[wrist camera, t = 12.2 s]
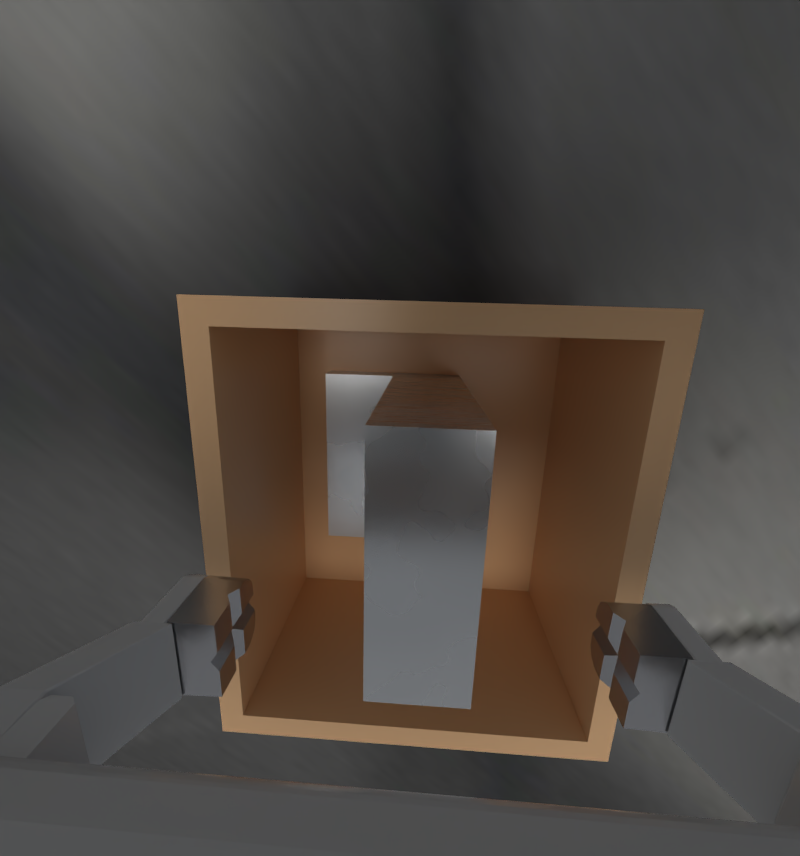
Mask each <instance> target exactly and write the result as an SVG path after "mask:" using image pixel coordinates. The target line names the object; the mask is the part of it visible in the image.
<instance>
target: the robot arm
mask: <svg viewBox="0 0 800 856" xmlns="http://www.w3.org/2000/svg"><path fill="white" fill-rule="evenodd" d="M253 594H254V593H253V585H252V581H251V580H249V579H246V578H234V577H223V576H211V575H209V576H207V575H196V574H188V575H185V576H183V577H182V578H181V579H180V580H179V581H178V582H177V583H176V584H175V586H174V587H173V588H172V589H171V590H170V591H169V592H168V593H167V594H166V595H165V596H164V597H163V598H162V599H161V601H160V602H159V603H158V604H157V605H156V606H155V607H154V608H153V609H152V610H151V611H150V612H149V613H148V614H147V616H146V617H145V618H144V619H143V620H142V621H133V622H131V623H129V624H127V625H125V626H123V627H121V628H119V629H117V630H115V631H113V632H111V633H109V634H107V635H105V636H103V637H101V638H99V639H97V640H95V641H92V642H90V643H88V644H86V645H84V646H82V647H80V648H78V649H76V650H74V651H72V652H70V653H68V654H66V655H64V656H62V657H60V658H58V659H56V660H54V661H52V662H49V663H47V664H45V665H43V666H41V667H39V668H37V669H35V670H33V671H31V672H29V673H27V674H25V675H23V676H21V677H19V678H17V679H15V680H13V681H11V682H9V683H7V684H4V685H2V686H0V856H800V703H798V702H796V701H794V700H793V699H791V698H789V697H788V696H786V695H784V694H783V693H781V692H779V691H778V690H776V689H774V688H773V687H771V686H769V685H768V684H766V683H764V682H762V681H761V680H759V679H757V678H756V677H754V676H752V675H751V674H749V673H747V672H746V671H744V670H742V669H741V668H739V667H737V666H735V665H734V664H732V663H728V662H722V660H721V659H720V658H719V657H718V656H717V655H716V654H715V652H714V651H713V650H712V649H711V648H710V647H709V645H708V644H707V643H706V642H705V641H704V640H703V639H702V637H701V636H700V635H699V634H698V633H697V632H696V631H695V629H694V628H693V627H692V626H691V625H690V624H689V622H688V621H687V620H686V619H685V618H684V617H683V616H682V614H681V613H680V612H679V611H678V610H677V609H676V608H675V607H674V606H672V605H670V604H649V603H646V604H634V603H618V602H600V604H599V605H598V607H597V612H596V618H597V620H598V622H599V623H600V626H599V627H598V628H597V629H596V630H595V631H594V632H593V633H592V639H591V656H592V661H593V665H594V668H595V670H596V673H597V675H598V677H599V679H600V680H601V681H602V682H604V683H605V684H606V685H607V686H608V687H610V693H609V700H610V702H611V704H612V706H613V708H614V710H615V712H616V714H617V716H618V718H619V720H620V722H621V724H622V726H623V728H627V729H636V730H645V731H654V732H663V733H667V736H668V737H670V738H671V739H672V740H673V741H674V742H675V743H676V744H677V745H678V746H679V747H680V748H681V749H682V750H683V751H684V752H685V753H686V754H687V755H688V756H689V757H690V758H691V759H692V760H693V761H695V762H696V763H697V764H698V765H699V766H700V767H701V768H702V769H703V770H704V771H705V772H706V773H707V774H708V775H709V776H710V777H711V778H712V779H713V780H714V781H715V782H716V783H717V784H718V785H720V786H721V787H722V788H723V789H724V790H725V791H726V792H727V793H728V794H729V795H730V796H731V797H732V798H733V799H734V800H735V801H736V802H737V803H738V804H739V805H740V806H741V807H742V808H743V809H745V810H746V811H747V812H748V813H749V814H750V815H751V816H752V817H753V818H754V819H755V820H756V821H757V822H758V823H755V822H744V821H732V820H721V819H710V818H698V817H687V816H676V815H664V814H653V813H642V812H630V811H619V810H608V809H596V808H585V807H574V806H562V805H551V804H540V803H528V802H517V801H506V800H494V799H483V798H472V797H460V796H449V795H438V794H426V793H415V792H403V791H392V790H381V789H369V788H358V787H347V786H335V785H324V784H312V783H301V782H290V781H278V780H267V779H256V778H244V777H233V776H221V775H210V774H199V773H187V772H176V771H164V770H153V769H142V768H130V767H119V766H108V765H101V764H102V763H103V762H105V761H106V760H107V759H108V758H109V757H111V756H112V755H113V754H114V753H115V752H117V751H118V750H119V749H120V748H122V747H123V746H124V745H125V744H126V743H128V742H129V741H130V740H131V739H132V738H134V737H135V736H136V735H137V734H139V733H140V732H141V731H142V730H143V729H145V728H146V727H147V726H148V725H150V724H151V723H152V722H153V721H154V720H156V719H157V718H158V717H159V716H160V715H162V714H163V713H164V712H165V711H167V710H168V709H169V708H170V707H171V706H173V705H174V704H175V703H176V702H177V701H179V700H180V699H181V698H182V697H183V696H182V695H196V696H217V697H222V696H223V694H224V692H225V691H226V689H227V687H228V685H229V683H230V681H231V679H232V677H233V676H234V674H235V672H236V670H237V669H236V659H238V658H239V657H241V656H242V655H244V654H245V653H246V651H247V649H248V647H249V645H250V643H251V640H252V636H253V633H254V629H255V609H254V608H253V607H252V606H251V605H250V603H249V601H250V599H251V597H252V596H253Z"/></svg>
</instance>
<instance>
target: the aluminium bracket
mask: <svg viewBox="0 0 800 856" xmlns="http://www.w3.org/2000/svg"><path fill="white" fill-rule="evenodd" d="M326 423H327V477H328V531H329V535H331V536H349V537H364V656H363V701H367V702H380V703H394V704H407V705H421V706H434V707H448V708H461V709H471V701H472V690H473V680H474V669H475V658H476V647H477V637H478V626H479V615H480V604H481V594H482V583H483V572H484V561H485V551H486V540H487V529H488V518H489V508H490V497H491V486H492V475H493V465H494V454H495V443H496V432H497V431H496V429H495V428H494V426H493V425H492V423H491V422H490V420H489V419H488V417H487V416H486V414H485V413H484V411H483V410H482V408H481V407H480V405H479V404H478V402H477V401H476V399H475V398H474V397H473V395H472V394H471V392H470V391H469V389H468V388H467V386H466V385H465V383H464V382H463V380H462V379H461V377H460V376H459V375H444V374H416V373H387V372H359V371H330V372H328V373H326Z"/></svg>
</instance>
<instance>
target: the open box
mask: <svg viewBox="0 0 800 856" xmlns="http://www.w3.org/2000/svg"><path fill="white" fill-rule="evenodd" d="M176 295H177V305H178V314H179V323H180V333H181V342H182V352H183V361H184V370H185V380H186V389H187V399H188V408H189V417H190V427H191V436H192V446H193V455H194V464H195V474H196V483H197V492H198V502H199V511H200V521H201V530H202V539H203V549H204V558H205V568H206V575H207V576H209V575H211V576H223V577H234V578H246V579H249V580H251V581H252V585H253V593H254V594H253V596H252V597H251V599H250V601H249V603H250V605H251V606H252V607H253V608H254V609H255V629H254V633H253V636H252V640H251V643H250V645H249V647H248V649H247V651H246V653H245V654H244V655H242V656H241V657H239V658H238V659H236V669H237V670H236V672H235V674H234V676H233V677H232V679H231V681H230V683H229V685H228V687H227V689H226V691H225V692H224V694H223V696H222V697H219V699H220V708H221V718H222V727H223V731H228V732H241V733H254V734H266V735H279V736H291V737H304V738H316V739H329V740H341V741H354V742H367V743H379V744H392V745H404V746H417V747H429V748H442V749H455V750H467V751H480V752H492V753H505V754H517V755H530V756H543V757H555V758H568V759H580V760H593V761H605V762H608V759H609V754H610V749H611V745H612V740H613V735H614V731H615V726H616V721H617V717H618V716H617V714H616V712H615V710H614V708H613V706H612V704H611V702H610V700H609V693H610V687H608V686H607V685H606V684H605V683H604V682H602V681H601V680H600V679H599V677H598V675H597V673H596V670H595V668H594V665H593V661H592V656H591V639H592V633H593V632H594V631H595V630H596V629H597V628H598V627H599V626H600V623H599V622H598V620H597V618H596V612H597V607H598V605H599V604H600V602H618V603H634V604H642V600H643V595H644V590H645V585H646V581H647V576H648V571H649V567H650V562H651V557H652V553H653V548H654V543H655V539H656V534H657V529H658V525H659V520H660V515H661V510H662V506H663V501H664V496H665V492H666V487H667V482H668V478H669V473H670V468H671V464H672V459H673V454H674V450H675V445H676V440H677V435H678V431H679V426H680V421H681V417H682V412H683V407H684V403H685V398H686V393H687V389H688V384H689V379H690V375H691V370H692V365H693V360H694V356H695V351H696V346H697V342H698V337H699V332H700V328H701V323H702V318H703V314H704V309H678V308H643V307H607V306H572V305H536V304H501V303H465V302H430V301H394V300H359V299H323V298H288V297H252V296H217V295H181V294H176ZM330 371H359V372H387V373H416V374H444V375H459V376H460V377H461V379H462V380H463V382H464V383H465V385H466V386H467V388H468V389H469V391H470V392H471V394H472V395H473V397H474V398H475V399H476V401H477V402H478V404H479V405H480V407H481V408H482V410H483V411H484V413H485V414H486V416H487V417H488V419H489V420H490V422H491V423H492V425H493V426H494V428H495V429H496V431H497V432H496V443H495V454H494V465H493V475H492V486H491V497H490V508H489V518H488V529H487V540H486V551H485V561H484V572H483V583H482V594H481V604H480V615H479V626H478V637H477V647H476V658H475V669H474V680H473V690H472V701H471V709H461V708H448V707H434V706H421V705H407V704H394V703H380V702H367V701H363V656H364V537H349V536H331V535H329V531H328V477H327V423H326V373H328V372H330Z"/></svg>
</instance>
